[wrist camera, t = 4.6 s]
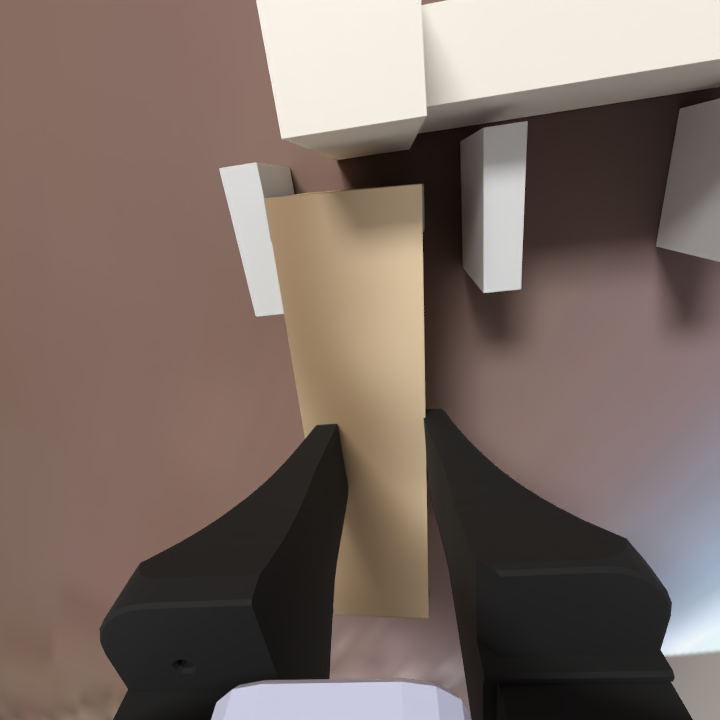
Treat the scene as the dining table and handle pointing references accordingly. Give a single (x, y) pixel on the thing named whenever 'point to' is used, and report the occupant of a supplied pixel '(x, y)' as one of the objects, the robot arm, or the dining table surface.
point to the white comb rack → (480, 105)
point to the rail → (363, 375)
